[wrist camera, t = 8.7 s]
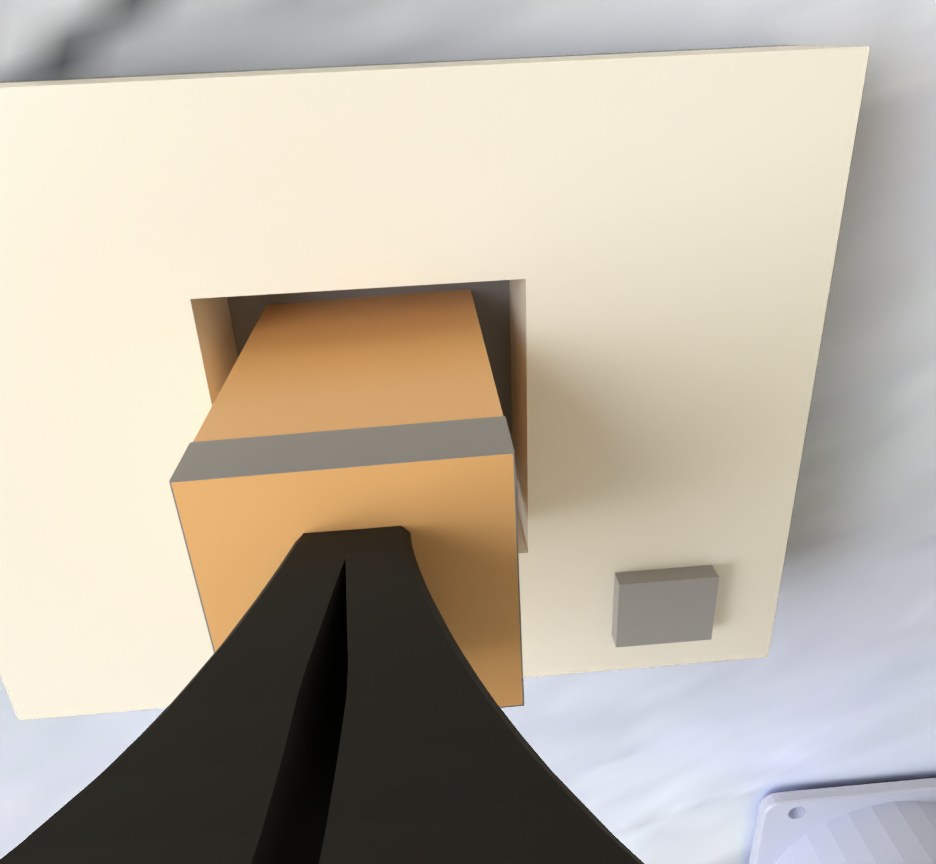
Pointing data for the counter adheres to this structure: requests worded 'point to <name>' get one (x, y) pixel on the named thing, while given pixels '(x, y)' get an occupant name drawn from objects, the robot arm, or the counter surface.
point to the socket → (419, 271)
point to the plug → (363, 463)
